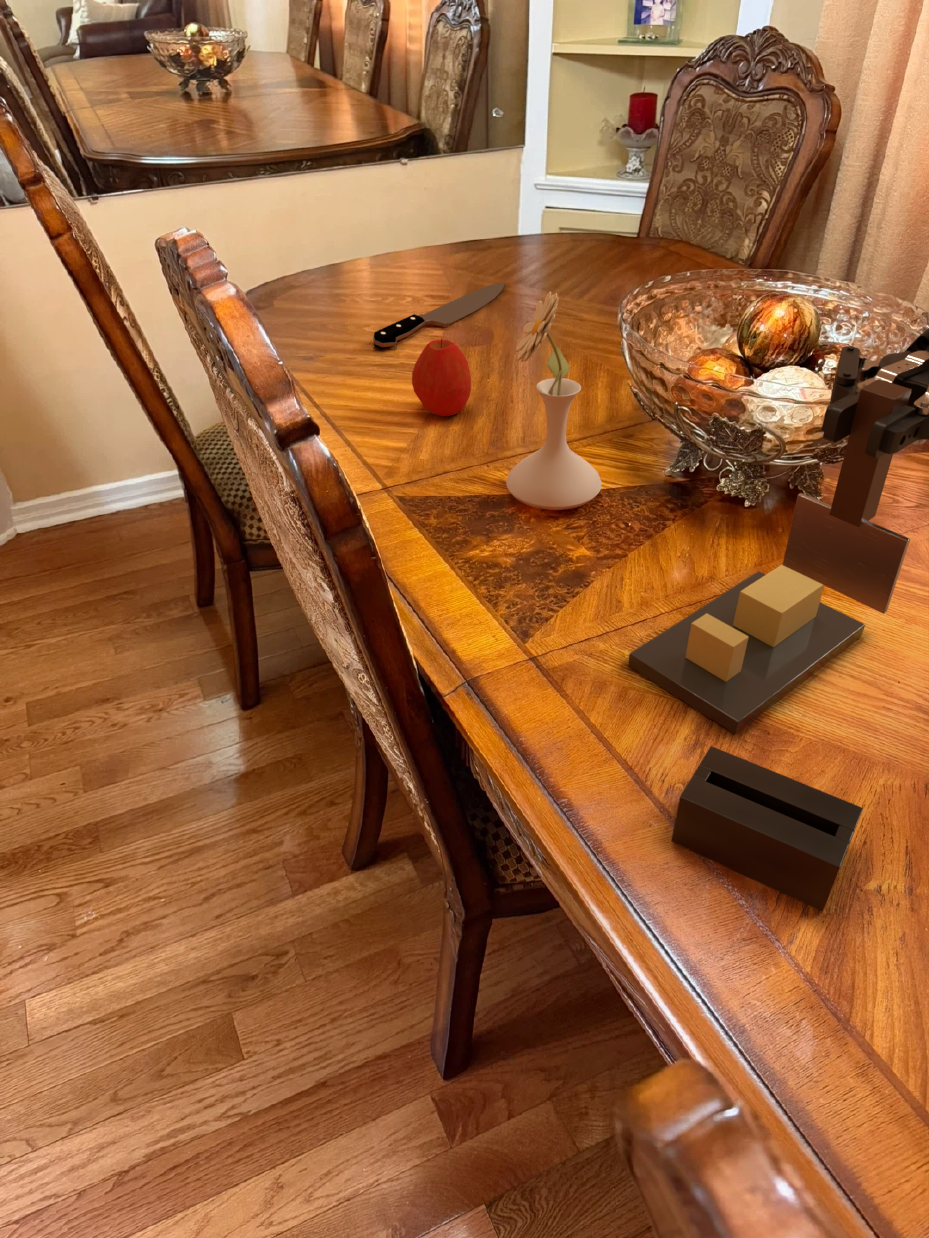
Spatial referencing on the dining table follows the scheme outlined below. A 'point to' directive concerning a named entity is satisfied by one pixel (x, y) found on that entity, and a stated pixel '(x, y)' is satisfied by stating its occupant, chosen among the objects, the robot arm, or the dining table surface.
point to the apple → (442, 378)
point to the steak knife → (436, 316)
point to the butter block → (777, 605)
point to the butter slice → (716, 647)
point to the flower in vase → (552, 431)
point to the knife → (853, 515)
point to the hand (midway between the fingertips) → (853, 434)
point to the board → (762, 668)
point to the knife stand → (765, 826)
